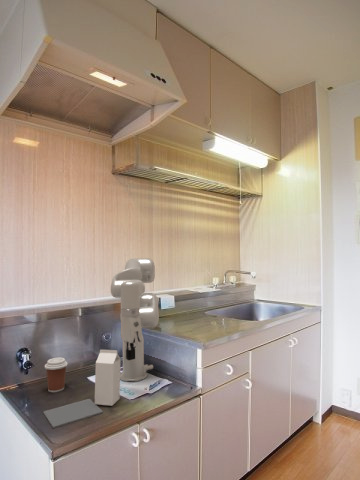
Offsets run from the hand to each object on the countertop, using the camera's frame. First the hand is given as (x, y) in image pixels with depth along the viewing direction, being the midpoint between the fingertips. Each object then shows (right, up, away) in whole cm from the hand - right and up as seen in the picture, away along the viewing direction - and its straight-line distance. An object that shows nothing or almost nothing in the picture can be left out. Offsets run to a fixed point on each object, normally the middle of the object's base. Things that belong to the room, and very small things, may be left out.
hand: (130, 359), depth 130 cm
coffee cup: (-32, -15, +7) cm, 36 cm away
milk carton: (-8, -14, -6) cm, 17 cm away
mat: (-18, -14, -14) cm, 27 cm away
